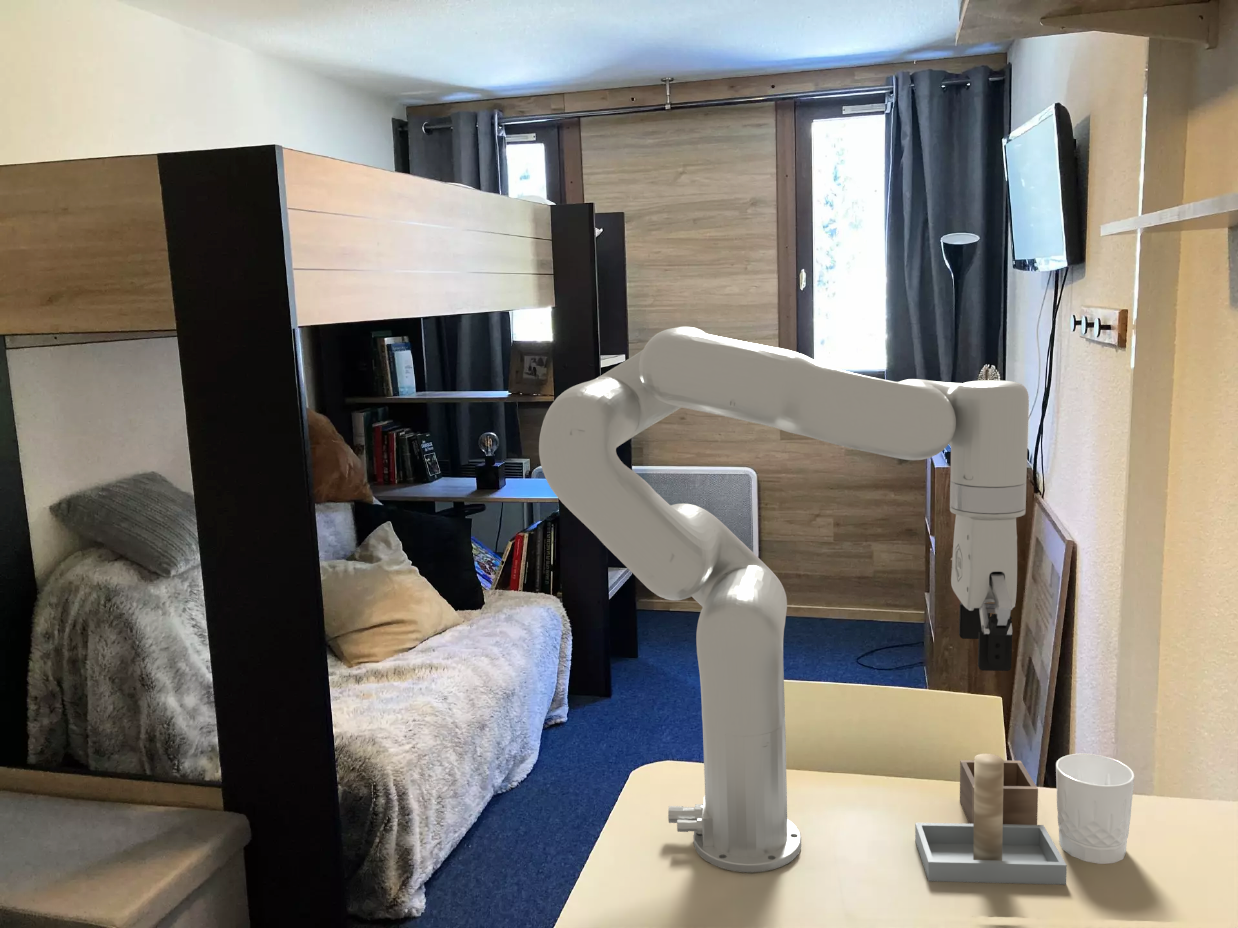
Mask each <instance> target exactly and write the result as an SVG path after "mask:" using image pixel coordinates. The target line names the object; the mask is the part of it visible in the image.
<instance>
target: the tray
mask: <svg viewBox="0 0 1238 928" xmlns="http://www.w3.org/2000/svg"><path fill="white" fill-rule="evenodd" d="M914 825H915V826H914V831H915V833H914V839H915V840H914V841H915V844H916V848H917V850H918V854H919V856H920V859H921V863H922V866H923V868H924V873H925V875H926V879H927V881H928V882H938V883H939V882H940V883H941V882H943V883H944V882H945V883H946V882H947V883H950V882H951V883H982V884H983V883H984V884H988V883H989V884H1019V885H1022V884H1023V885H1024V884H1025V885H1059V886H1060V885H1063V886H1065V885H1067V873H1068V872H1067V871H1068V869H1067V866H1068V865H1067V863H1066V861H1065V860H1064V858H1063V856H1062V855H1061V853H1060V851H1059V850H1058V848H1057V846H1056V844H1055V843H1054V841H1053V839H1052V837H1051V836H1050V834H1049V831H1047V829H1046V827H1045V826H1044V824H1037V825H1017V824H1003V838H1002V861H996V860H973V844H974V824H970V823H955V822H952V823H951V822H915V823H914Z"/></svg>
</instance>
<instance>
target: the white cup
mask: <svg viewBox="0 0 1238 928" xmlns="http://www.w3.org/2000/svg"><path fill="white" fill-rule="evenodd" d="M1055 772H1056V773H1055V776H1056V778H1055V779H1056V780H1055V781H1056V810H1057V824H1058V825H1057V826H1058V842H1059V845H1060V847H1061V849H1062V850H1063V851H1065V852H1066V853H1067V854H1068V855H1069V856H1071V857H1074V858H1076V859H1077V860H1081V861H1083V862H1087V863H1094V864H1099V865H1104V864H1115V863H1117V862H1120V861H1122V860H1124V858H1125V856H1126V853H1127V843H1128V837H1129V834H1130V824H1131V816H1132V815H1131V814H1132V805H1133V795H1134V793H1133V792H1134V783H1135V773H1134V771H1133V770H1132V769H1131V768H1130V766H1128V765H1126V763H1124V762H1121V761H1119V760H1117V759H1114V758H1112V757H1108V756H1105V755H1099V754H1094V753H1073V754H1067V755H1065V756H1062V757H1060V758H1058V760H1056V762H1055Z"/></svg>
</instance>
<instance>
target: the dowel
mask: <svg viewBox="0 0 1238 928" xmlns="http://www.w3.org/2000/svg"><path fill="white" fill-rule="evenodd" d="M973 760H974V844H973V860H996V861H1002V838H1003V777H1004V760H1005V759H1003V757H1001V756H999V755H996V754H992V753H979V754H976V755H975V756H974V759H973Z"/></svg>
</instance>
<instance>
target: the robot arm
mask: <svg viewBox="0 0 1238 928" xmlns="http://www.w3.org/2000/svg"><path fill="white" fill-rule="evenodd" d="M1029 397H1030V396H1029V392H1028V390H1027V388H1026V387H1025V386H1024V385H1023V384H1022V383H1019V382H1016V381H1011V380H998V379H997V380H996V379H994V380H992V379H990V380H989V379H987V380H972V381H966V382H963V383H962V382H947V381H946V382H945V381H936V380H928V379H919V378H908V379H904V380H900V381H894V380H888V379H883V378H878V377H873V376H868V375H863V374H859V373H854V372H851V371H846V370H844V369H843V370H842V369H840V368H836V367H833V366H830V365H827V364H824V363H821V362H819V361H817V360H815V359H813V358H811V357H809V356H808V355H805V354H803V353H801V352H800V353H799V352H798V351H794V350H790V349H787V348H781V347H775V346H770V345H765V344H759V343H755V342H748V341H743V340H740V339H739V340H738V339H734V338H731V337H730V338H729V337H724V336H720V335H719V336H718V335H715V334H710V333H707V332H706V331H703V330H702V329H700V328H697V327H692V326H678V327H673V328H672V327H671V328H667V329H664V330H662V331H660V332H657V333H656V334H655V335H653V336H652V337H650V339H649V340H648V341H647V342H646V344H645V345H644V347H643V349H642V350H640V351H639V352H637V353H635V354H634V355H633V356H631V357H629V358H628V359H626V360H624V361H623V362H621V363H619V364H618V365H616V366H614V367H612V368H611V369H610V370H608V371H606V372H605V373H603V374H602V375H599V376H598V377H596V378H594V379H591V380H588V381H584V382H581V383H579V384H576V385H573V386H571V387H569V388H567V389H566V390H564V391H563V392H561V394H560V395H558V396H557V397H556V398H555V400H554V401H553V402H552V403H551V405H550V406H549V408H548V410H547V411H546V414H545V415H544V417H543V421H542V425H541V429H540V433H539V438H538V439H539V440H538V441H539V442H538V456H539V462H540V466H541V470H542V472H543V475H544V477H545V480H546V482H547V484H548V486H549V487H550V489H551V490H552V492H553V493H554V494H555V496H556V497H557V499H558V500H560V502H561V503H562V504H563V505H564V507H565V508H567V509H568V510H569V512H571V513H572V515H574V516H575V517H576V518H577V519H578V520H579V521H580V522H581V523H582V524H584V526H585V527H586V528H587V529H589V531H591V532H592V533H593V534H594V536H595V537H596V538H597V539H598V540H599V541H600V542H601V543H602V545H603V546H605V548H607V549H608V550H609V551H610V552H611V553H612V554H613V555H614V556H615V557H616V558H617V559H618V560H619V561H620V562H621V563H622V565H624V566H625V567H626V568H627V569H628V570H629V571H630V572H631V573H632V574H633V575H634V576H635V577H636V578H637V579H638V580H639V581H640V582H641V583H642V584H643V585H644V586H645V587H646V588H647V589H648V590H649V591H651V592H652V593H654V595H656V596H657V597H660V598H663V599H665V600H668V601H681V600H687V599H689V598H691V597H692V598H693V600H695V601H696V603H698V604H699V605H700V606H701V607H702V608H701V610H700V613H699V617H698V620H697V625H696V626H697V627H696V634H695V635H696V639H695V640H696V655H697V661H698V663H697V664H698V670H699V671H698V672H699V682H700V695H701V697H700V698H701V700H700V701H701V720H702V738H703V739H702V741H703V742H702V745H703V746H702V747H703V748H702V749H703V768H704V769H703V771H704V773H703V774H704V795H703V803H701V804H700V803H697V804H694V807H693V806H682V805H679V806H678V805H669V806H668V810H667V811H668V813H667V814H668V816H667V818H668V823H669V824H676V827H677V828H676V831H677V833H679V832H681V833H689V832H693V835H692V836H693V846H694V849H695V851H696V852H697V854H698V856H700V857H701V858H702V859H704V860H705V861H706V862H708V863H710V864H711V865H713V866H716V867H718V868H721V869H724V870H728V871H732V872H740V873H761V872H768V871H772V870H775V869H779V868H781V867H784V866H786V865H787V864H790V863H791V862H792V861H793V860H794V859H796V858H797V856H798V855H799V854H800V851H801V849H802V836H801V835H802V834H801V832H800V830H799V828H798V827H797V825H795V824H794V822H792V821H791V820H789V819H788V791H787V787H788V786H787V784H788V783H787V743H786V742H787V740H786V738H787V737H786V717H785V716H786V710H785V707H786V705H785V703H786V702H785V677H784V676H785V675H784V672H785V671H784V638H785V637H784V636H785V635H784V633H785V626H786V618H787V611H788V599H787V598H788V597H787V594H786V591H785V588H784V586H783V584H782V582H781V581H780V579H779V578H778V576H776V574H775V573H774V572H773V571H772V569H771V568H769V566H767V565H766V563H764V561H762V559H760V558H759V557H758V556H757V555H756V554H755V552H754V551H752V550H751V549H750V548H749V547H748V546H747V545H746V544H745V543H744V542H743V541H742V540H740V539H739V538H738V536H737V535H735V533H733V531H731V530H730V528H728V527H727V525H725V524H724V523H723V522H722V521H721V520H720V519H719V518H718V517H716V516H715V515H714V514H713V513H711V512H710V511H709V510H707V509H705V508H702V507H701V506H698V505H695V504H690V503H675V504H669V502H667V501H666V500H665V499H664V498H663V497H662V496H661V495H660V494H659V493H658V492H657V491H656V490H655V489H653V487H652V486H651V484H649V483H648V482H647V481H646V480H645V478H642V477H641V476H640V475H639V474H638V473H636V471H634V470H632V469H631V468H629V467H628V466H627V465H626V464H624V462H623V461H621V459H620V457H619V456H618V454H617V448H619V446H621V445H622V444H624V443H626V442H627V441H629V440H631V439H632V438H633V437H635V436H636V435H638V434H640V433H642V432H644V431H645V430H646V429H648V428H650V427H651V426H653V425H654V424H656V423H659V422H660V421H662V420H664V419H665V418H666V417H668V416H670V415H672V414H673V413H675V412H676V411H678V410H680V409H682V408H683V409H687V410H693V411H698V412H702V413H706V414H712V415H716V416H721V417H726V418H731V419H735V420H739V421H744V422H749V423H753V424H759V425H762V426H767V427H769V428H770V427H771V428H776V429H778V430H781V431H784V432H786V433H789V434H790V433H791V434H795V435H799V436H805V437H808V438H812V439H815V440H817V441H822V442H825V443H830V444H832V445H837V446H840V447H844V448H849V449H853V450H858V451H862V452H865V453H866V452H867V453H871V454H876V455H881V456H885V457H889V458H895V459H900V460H906V461H921V460H927V459H930V458H933V457H934V456H937V455H938V454H940V453H941V452H943V451H944V450H945V449H947V447H948V446H950V482H949V486H950V487H949V511H950V513H952V514H954V515H955V519H954V520H955V521H954V530H953V531H954V532H953V541H952V542H953V543H952V544H953V547H952V559H951V560H952V561H951V573H950V574H951V579H950V582H951V585H950V586H951V588H952V591H953V593H954V594H955V595H956V597H957V599H958V600H959V614H958V615H959V617H958V620H959V621H958V623H959V625H958V635H959V638H961V639H963V640H965V639H966V640H978V645H977V646H978V648H977V649H978V650H977V667H978V669H979V670H980V671H983V672H987V671H991V672H993V671H994V672H1009V671H1011V670H1012V658H1013V657H1012V654H1013V653H1012V652H1013V626H1012V623H1013V620H1012V619H1013V617H1012V616H1011V612H1012V610H1013V609H1014V608H1015V607H1016V601H1017V592H1018V591H1017V589H1018V588H1017V587H1018V586H1017V585H1018V534H1017V518H1019V517H1022V516H1025V515H1026V509H1027V508H1026V507H1027V505H1026V504H1027V502H1026V501H1027V473H1028V472H1027V471H1028V470H1027V469H1028V443H1029V441H1028V439H1029V406H1030V404H1029V402H1030V399H1029Z"/></svg>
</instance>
